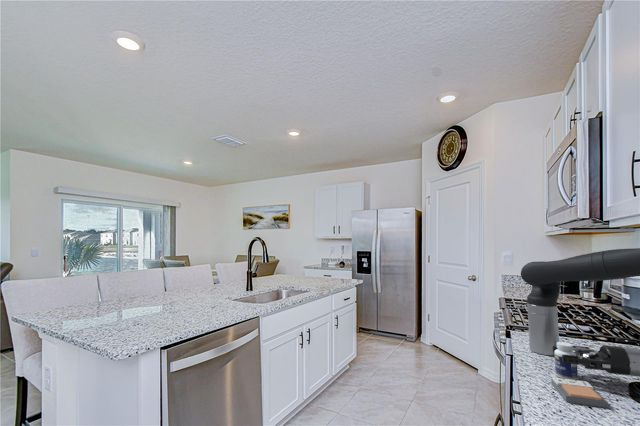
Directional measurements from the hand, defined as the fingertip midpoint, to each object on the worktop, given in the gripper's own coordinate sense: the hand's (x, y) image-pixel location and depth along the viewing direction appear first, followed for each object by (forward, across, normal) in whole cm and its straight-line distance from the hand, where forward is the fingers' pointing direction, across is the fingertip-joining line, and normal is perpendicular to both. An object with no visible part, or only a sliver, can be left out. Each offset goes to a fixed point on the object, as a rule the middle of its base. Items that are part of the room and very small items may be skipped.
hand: (557, 354), depth 98 cm
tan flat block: (0, +13, +6) cm, 15 cm away
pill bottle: (-2, 0, +7) cm, 7 cm away
